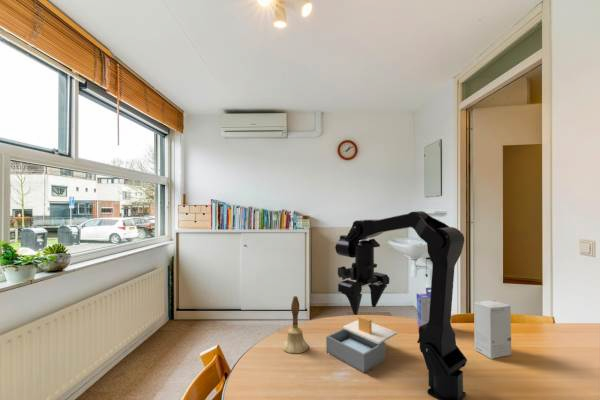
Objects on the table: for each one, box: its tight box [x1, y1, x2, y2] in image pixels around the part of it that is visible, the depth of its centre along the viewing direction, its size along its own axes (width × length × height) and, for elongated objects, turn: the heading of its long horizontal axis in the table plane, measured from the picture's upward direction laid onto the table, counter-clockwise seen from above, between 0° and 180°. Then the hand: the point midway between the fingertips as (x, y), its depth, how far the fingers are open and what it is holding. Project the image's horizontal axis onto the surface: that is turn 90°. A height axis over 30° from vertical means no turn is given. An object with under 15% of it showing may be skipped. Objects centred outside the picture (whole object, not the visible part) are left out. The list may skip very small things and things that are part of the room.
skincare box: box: [473, 299, 512, 360], centre depth 87 cm, size 8×6×15 cm
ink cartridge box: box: [416, 287, 431, 329], centre depth 102 cm, size 10×6×14 cm, turn 86°
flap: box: [341, 315, 398, 345], centre depth 90 cm, size 14×10×5 cm
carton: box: [325, 328, 386, 374], centre depth 85 cm, size 14×10×5 cm
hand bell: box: [281, 295, 309, 355], centre depth 91 cm, size 8×8×16 cm
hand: (364, 310), depth 89 cm, fingers open, 9 cm apart
